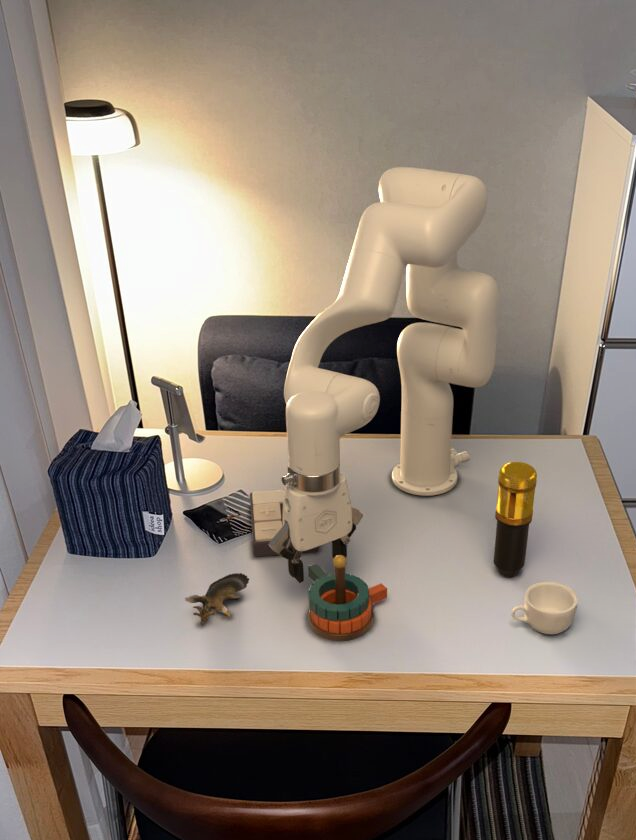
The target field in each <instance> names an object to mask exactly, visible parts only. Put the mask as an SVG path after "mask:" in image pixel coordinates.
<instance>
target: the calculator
mask: <svg viewBox="0 0 636 840" xmlns="http://www.w3.org/2000/svg"><path fill="white" fill-rule="evenodd" d="M284 493H285V489H280V490H279V489H277V490H264V491H253V492H249V503H250V504H249V505H250V518H251V519H250V520H251V533H252V534H251V535H252V549H253V550H252V551H253V557H255V558H259V557H260V558H261V557H272V556H281V555H280V554H278V553H276V552H275V551H273V550H272V549H271V548H270V547H269V545H268V544H269V542H270V541H271V540H272V539H273V537H274V536H275V535H276V534H277V533H278V531H279V530H280V529H281V528H282V527H283V519H282V517H283V500H284ZM288 541H289V539H286V541H285V542H284V543H283V546H285V547H286V546H287V544H288ZM293 551H295V548H294V550H293ZM318 551H319V546H318V547H315V548H312V549H309V550H306V551H303V553H302V554H306V553H307V554H308V553H316V552H318Z"/></svg>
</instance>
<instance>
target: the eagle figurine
mask: <svg viewBox="0 0 636 840" xmlns="http://www.w3.org/2000/svg"><path fill="white" fill-rule="evenodd" d="M249 582H250V578H249V577H248V575H245V574H244V573H243V572H235V573H230V574H228V575H227V574H226V575H225V576H222V577H221V578H219V579H217V580H215V581H214V582H212V583H211V584H209V587H208V588H207V591H206V593H205V594H204V595H198V594H192V595H189V596H186V597H184V601H185V602H187V603H189V604H197V603H201V604H202V607H201V606H199V605H195V606H192V608H193V609H196V610H197V611H198V612H192V614H193V616H197V617H199V618H200V626H203V625H204V624H205V623H206V622H207V621H208V620H209V617H211V616H213V617H214V616H215V615H216V614H217V612H219V613H222V614H223V615H226V616H227V617H228V618H230V617H231V614H230V610H229V609H228V608H227V607H226V606H225V605H224V604H223V602H224V601H225V600H226V601H227V600H233V599H235V600H236V599H240V595H239V594H238V593H237V592H240V591H242V590H245V589H246V588H247V587H248V584H249ZM211 610H212V611H211Z"/></svg>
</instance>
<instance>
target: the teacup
mask: <svg viewBox="0 0 636 840" xmlns="http://www.w3.org/2000/svg"><path fill="white" fill-rule="evenodd" d="M578 602H579V599H578V594H577V593H576V592H575V591H574V590H573V589H572V588H571V587H569V586H568V585H565V584H563V583H559V582H555V581H540V582H536V583H534V584H532V585H530V586H529V587H528V588H527V589H526V591H525V592H524V604H520V605H516V606H514V607H513V608H512V609H511V611H510V612H511V613H510V614H511V617H512V618H513V619H514V620H516V621H519V622H523V623H524V622H525V623H528V624H529V625H530V626H531V628H533V630H535V631H537V632H539V633H541V634H545V635H557V634H561V633H564V632H565V631H566V630H567V629H568V628H569V627H571V624H572V623H573V621H574V618H575V616H576V612H577V607H578ZM519 610H522V611H523V612H524V615H523V616H517V615H515V613H516V612H517V611H519Z"/></svg>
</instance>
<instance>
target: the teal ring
mask: <svg viewBox="0 0 636 840" xmlns="http://www.w3.org/2000/svg"><path fill="white" fill-rule="evenodd" d="M307 576H308V577H309V578H310V580H311V581H312V582H311V584H310V586H309V589H308V591H307V594H308V605H309V609H310V608H311V610H312V611H313V612H314V613H315V615H317V616H319V617H321V618H323V619H325V620H326V619H327V620H329V621H338V620H339V621H347V620H349V618H350V619H354V618H356V617H358V616H359V615H361V614H362V613H364V612H365V611H366V609H367V608H368V605H369V588H370V587H369V586H368V584H367V583H366V581H364V580H363V578H360V577H359V576H357V575H354V574H351V573H346V572H345V582H346V590H349V591H351V592H353V593H354V594H355V595H356V596H357V597H356V598H355V599H354V600H353V601H351V602H349V603H347V604H339V605H337V604H330V603H328V602H326V601H324V600H323V599H322V598H321V596H322V595H323V594H324V593H325V592H328V591H330V590H334V589H335V572H333V573H327V572H326V571H325V569H323V568H322V567H321V566H320V565H319V564H318V563H314V564H311V565H308V566H307Z"/></svg>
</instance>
